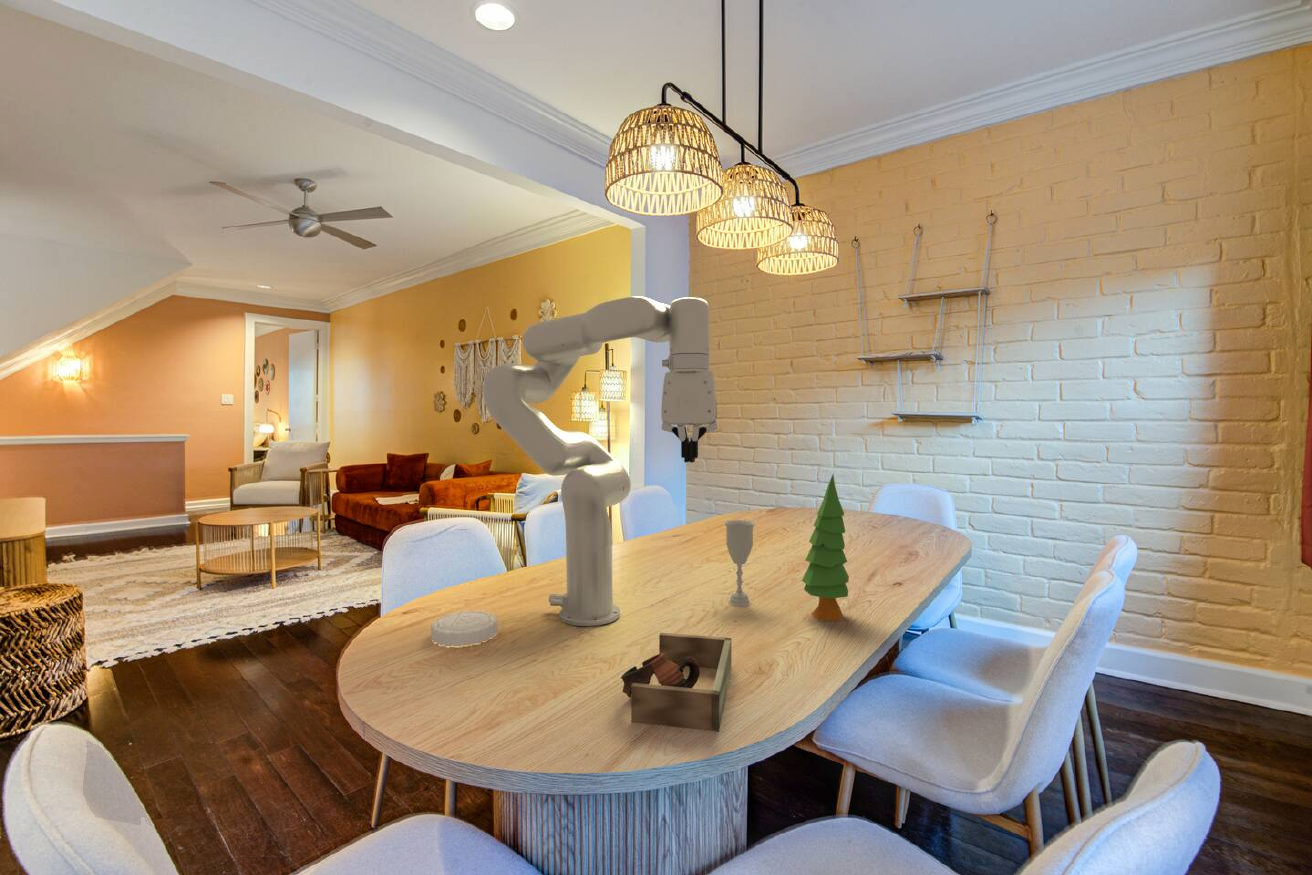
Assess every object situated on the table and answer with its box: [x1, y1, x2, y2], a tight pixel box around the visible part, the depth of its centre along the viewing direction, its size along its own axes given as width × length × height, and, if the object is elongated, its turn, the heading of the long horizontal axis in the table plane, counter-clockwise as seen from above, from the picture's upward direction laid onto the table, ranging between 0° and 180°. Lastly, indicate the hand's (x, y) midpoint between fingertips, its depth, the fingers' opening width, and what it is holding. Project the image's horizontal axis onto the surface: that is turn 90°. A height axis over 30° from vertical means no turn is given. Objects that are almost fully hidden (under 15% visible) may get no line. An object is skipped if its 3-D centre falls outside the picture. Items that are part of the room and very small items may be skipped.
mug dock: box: [630, 632, 732, 732], centre depth 88 cm, size 12×20×5 cm, turn 168°
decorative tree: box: [801, 474, 850, 622], centre depth 121 cm, size 10×9×30 cm
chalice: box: [724, 519, 756, 608], centre depth 130 cm, size 7×7×18 cm
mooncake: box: [430, 610, 498, 646], centre depth 111 cm, size 12×12×4 cm
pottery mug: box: [620, 653, 701, 699], centre depth 85 cm, size 12×10×8 cm
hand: (689, 461), depth 111 cm, fingers closed
